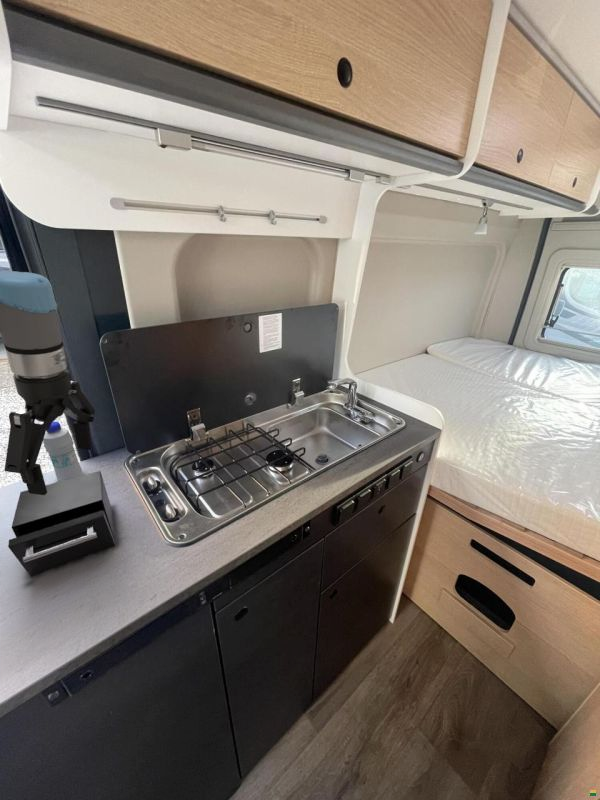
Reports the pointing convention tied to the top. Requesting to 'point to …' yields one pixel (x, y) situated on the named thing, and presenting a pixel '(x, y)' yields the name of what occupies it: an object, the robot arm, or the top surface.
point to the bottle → (62, 452)
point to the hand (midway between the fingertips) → (64, 468)
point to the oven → (62, 504)
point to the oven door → (62, 543)
